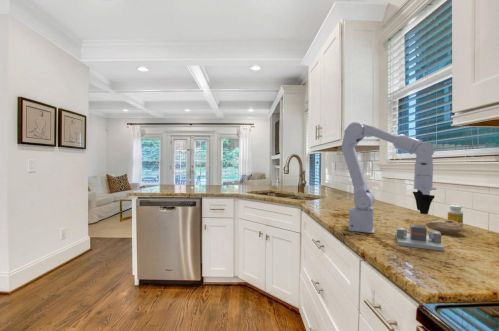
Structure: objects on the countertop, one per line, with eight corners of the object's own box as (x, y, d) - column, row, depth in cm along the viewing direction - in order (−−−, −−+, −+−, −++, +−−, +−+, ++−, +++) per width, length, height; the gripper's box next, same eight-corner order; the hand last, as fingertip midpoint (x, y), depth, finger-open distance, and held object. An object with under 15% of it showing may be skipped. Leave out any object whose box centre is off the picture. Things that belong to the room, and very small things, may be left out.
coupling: (410, 239, 96) (411, 226, 96) (409, 236, 100) (409, 224, 100) (426, 241, 94) (426, 228, 94) (424, 238, 98) (424, 225, 98)
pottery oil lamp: (422, 227, 117) (429, 213, 118) (455, 241, 112) (461, 226, 113) (426, 225, 110) (433, 209, 111) (462, 239, 104) (468, 222, 105)
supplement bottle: (450, 225, 124) (451, 204, 123) (464, 228, 119) (465, 206, 119) (445, 227, 121) (445, 205, 120) (459, 230, 116) (460, 207, 116)
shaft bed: (398, 245, 94) (398, 232, 94) (395, 235, 106) (395, 223, 106) (444, 251, 88) (444, 237, 88) (435, 239, 101) (435, 227, 101)
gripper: (440, 176, 93) (439, 216, 94) (432, 174, 106) (431, 209, 107) (416, 176, 96) (415, 214, 96) (411, 174, 109) (410, 208, 110)
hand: (422, 212), depth 102 cm, fingers open, 7 cm apart
